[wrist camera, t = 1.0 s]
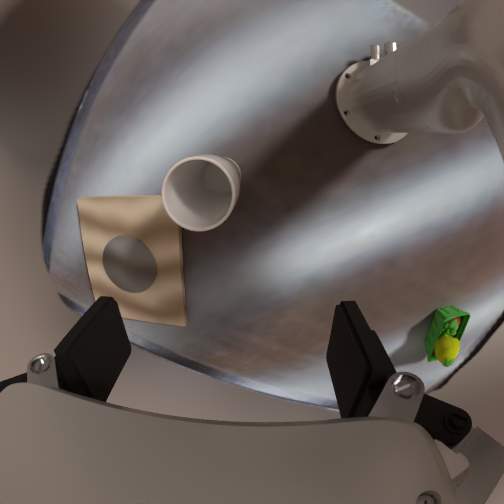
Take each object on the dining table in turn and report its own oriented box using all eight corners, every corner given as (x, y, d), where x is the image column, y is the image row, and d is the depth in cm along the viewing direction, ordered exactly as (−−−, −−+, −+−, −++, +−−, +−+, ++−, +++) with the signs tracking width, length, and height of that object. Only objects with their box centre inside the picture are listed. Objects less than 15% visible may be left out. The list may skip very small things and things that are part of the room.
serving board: (82, 196, 38) (76, 199, 36) (180, 195, 37) (176, 197, 36) (101, 309, 46) (97, 314, 44) (187, 321, 46) (185, 327, 44)
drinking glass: (237, 144, 34) (220, 143, 21) (253, 190, 37) (247, 218, 23) (191, 161, 36) (148, 173, 22) (208, 205, 38) (177, 242, 24)
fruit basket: (443, 341, 47) (465, 374, 36) (413, 348, 47) (434, 385, 37) (459, 299, 43) (487, 330, 32) (428, 304, 43) (456, 340, 33)
